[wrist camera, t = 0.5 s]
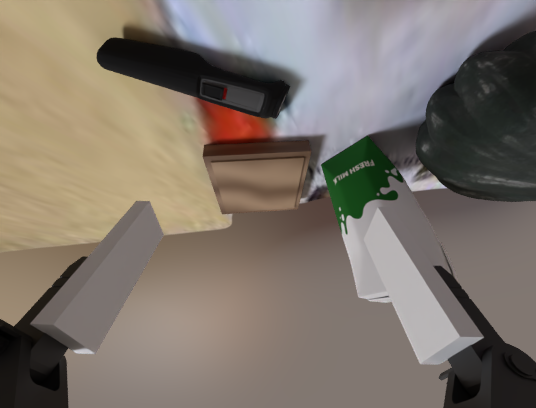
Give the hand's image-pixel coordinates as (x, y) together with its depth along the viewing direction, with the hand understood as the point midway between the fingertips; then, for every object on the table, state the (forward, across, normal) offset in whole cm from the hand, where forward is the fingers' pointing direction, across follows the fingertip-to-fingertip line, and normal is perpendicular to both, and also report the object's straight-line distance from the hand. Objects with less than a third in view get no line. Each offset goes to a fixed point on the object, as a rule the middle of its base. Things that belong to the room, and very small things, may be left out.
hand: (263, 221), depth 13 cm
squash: (+17, +22, +4) cm, 28 cm away
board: (+18, -1, -8) cm, 19 cm away
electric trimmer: (+14, -6, +6) cm, 16 cm away
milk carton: (+19, +12, -5) cm, 23 cm away
